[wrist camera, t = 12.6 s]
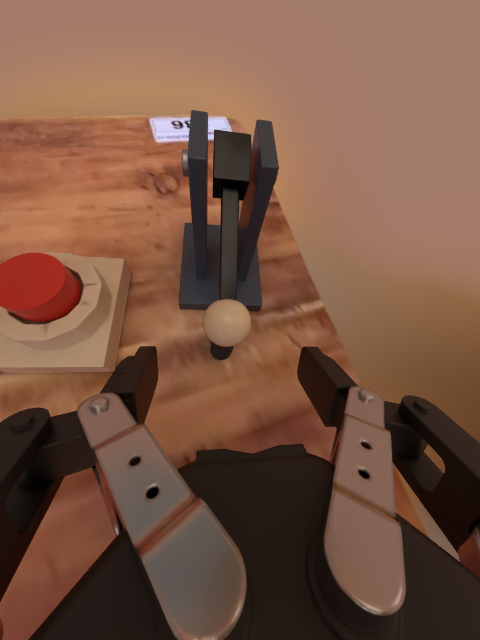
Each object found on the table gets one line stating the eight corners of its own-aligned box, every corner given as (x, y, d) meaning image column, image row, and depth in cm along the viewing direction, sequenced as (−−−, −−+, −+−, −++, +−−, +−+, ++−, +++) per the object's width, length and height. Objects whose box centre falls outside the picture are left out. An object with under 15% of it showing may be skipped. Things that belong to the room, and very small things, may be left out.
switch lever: (246, 343, 17) (255, 350, 14) (202, 342, 16) (201, 350, 13) (250, 164, 16) (260, 129, 13) (206, 159, 16) (205, 122, 13)
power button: (73, 323, 16) (55, 310, 14) (4, 322, 16) (-25, 308, 14) (87, 271, 18) (72, 254, 16) (25, 269, 17) (1, 250, 15)
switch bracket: (259, 311, 23) (313, 207, 12) (180, 309, 22) (151, 192, 11) (253, 235, 27) (289, 99, 15) (185, 230, 26) (168, 80, 14)
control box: (114, 372, 19) (89, 360, 15) (8, 373, 18) (-51, 361, 14) (131, 272, 23) (115, 241, 19) (44, 268, 22) (7, 235, 18)
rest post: (231, 359, 21) (239, 343, 16) (210, 360, 21) (211, 343, 16) (231, 339, 22) (238, 318, 17) (210, 339, 22) (211, 317, 17)
